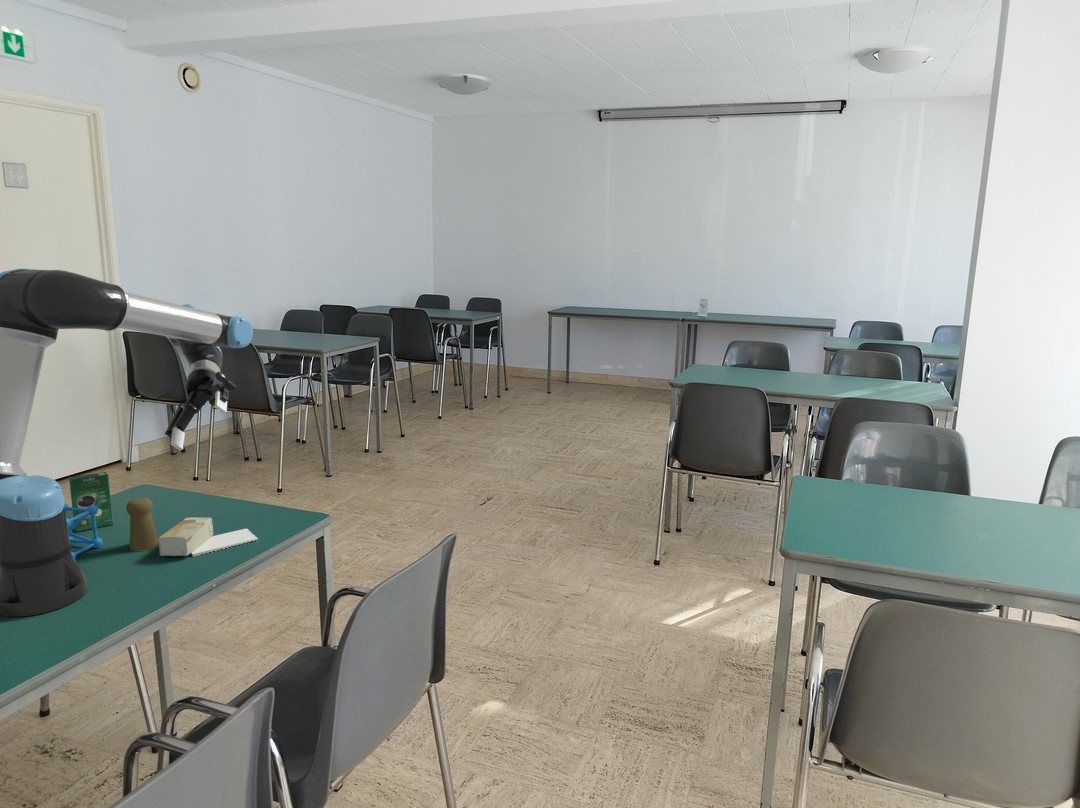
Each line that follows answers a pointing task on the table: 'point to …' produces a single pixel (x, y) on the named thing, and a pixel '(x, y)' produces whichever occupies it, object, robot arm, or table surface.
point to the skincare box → (185, 536)
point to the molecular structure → (89, 511)
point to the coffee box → (91, 499)
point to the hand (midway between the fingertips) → (198, 428)
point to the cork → (141, 525)
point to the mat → (224, 541)
